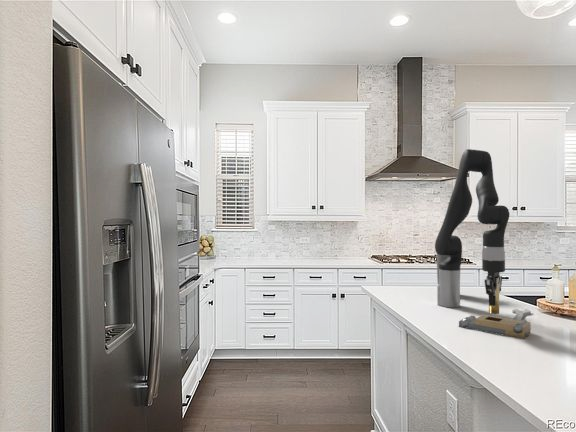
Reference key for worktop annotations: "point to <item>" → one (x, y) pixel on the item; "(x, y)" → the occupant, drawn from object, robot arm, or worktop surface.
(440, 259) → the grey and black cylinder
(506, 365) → the worktop surface
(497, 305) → the pin
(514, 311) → the adjustable wrench
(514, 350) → the worktop surface
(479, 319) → the brass frame with rod
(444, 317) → the worktop surface
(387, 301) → the worktop surface
